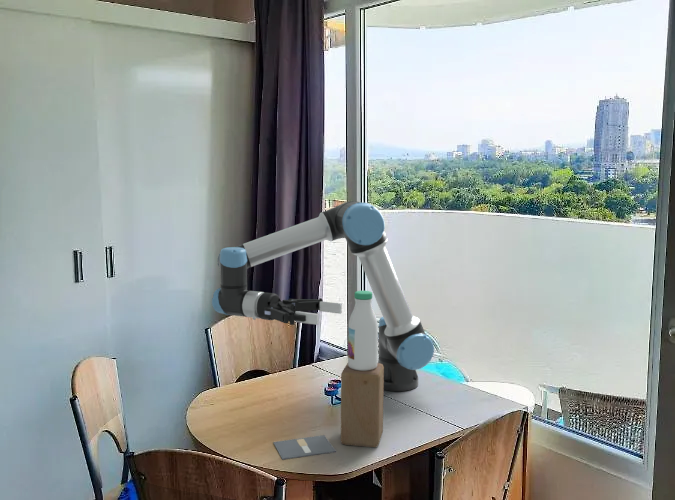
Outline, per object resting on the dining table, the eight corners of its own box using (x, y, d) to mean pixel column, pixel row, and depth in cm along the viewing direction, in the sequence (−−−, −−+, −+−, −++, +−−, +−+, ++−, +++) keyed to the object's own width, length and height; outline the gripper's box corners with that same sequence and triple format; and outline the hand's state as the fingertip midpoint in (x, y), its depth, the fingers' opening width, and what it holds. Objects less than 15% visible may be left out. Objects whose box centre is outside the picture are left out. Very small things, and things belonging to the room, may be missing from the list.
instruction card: (324, 436, 171) (324, 434, 171) (336, 451, 161) (336, 450, 161) (273, 443, 166) (273, 441, 166) (282, 459, 157) (282, 458, 157)
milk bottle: (380, 364, 169) (381, 290, 166) (372, 372, 161) (373, 295, 159) (353, 360, 171) (353, 288, 168) (344, 369, 164) (344, 293, 161)
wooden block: (378, 449, 163) (379, 374, 160) (340, 445, 165) (340, 371, 162) (383, 433, 173) (384, 362, 170) (347, 430, 175) (347, 359, 172)
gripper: (285, 309, 190) (349, 317, 180) (236, 328, 168) (307, 338, 158) (285, 285, 189) (350, 291, 179) (236, 301, 167) (307, 309, 157)
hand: (330, 313), depth 169 cm, fingers open, 13 cm apart
